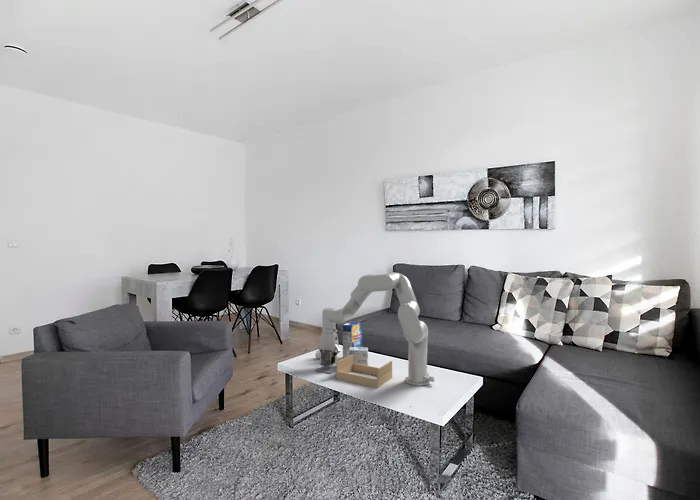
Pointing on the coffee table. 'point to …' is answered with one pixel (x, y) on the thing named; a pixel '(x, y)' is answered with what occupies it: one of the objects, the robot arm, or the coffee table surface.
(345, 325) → the blue yellow food box
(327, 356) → the block
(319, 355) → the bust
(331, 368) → the grey mat
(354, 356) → the light bulb box
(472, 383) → the coffee table surface
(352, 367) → the carton
